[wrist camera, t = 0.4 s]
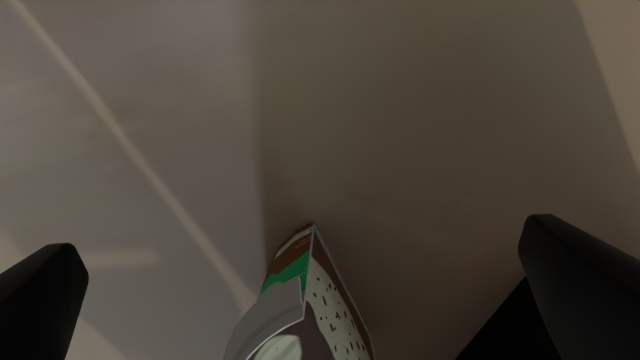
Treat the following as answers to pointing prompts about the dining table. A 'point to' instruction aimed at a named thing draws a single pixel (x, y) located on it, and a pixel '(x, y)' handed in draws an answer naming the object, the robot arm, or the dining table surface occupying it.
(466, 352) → the toaster oven
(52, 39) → the dining table surface
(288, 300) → the food container
